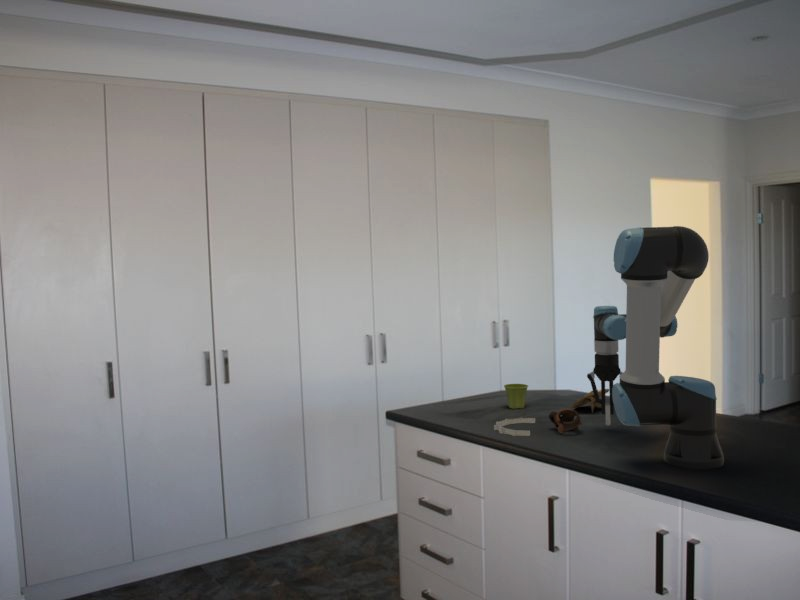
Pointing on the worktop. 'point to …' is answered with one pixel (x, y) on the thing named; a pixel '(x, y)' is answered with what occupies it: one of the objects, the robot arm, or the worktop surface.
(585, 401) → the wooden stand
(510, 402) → the plant pot
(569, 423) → the pottery mug
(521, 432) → the grey u-shaped piece
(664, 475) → the worktop surface
